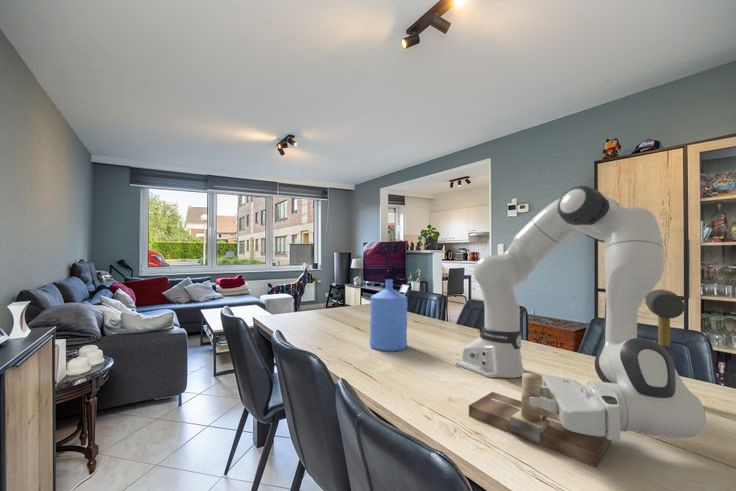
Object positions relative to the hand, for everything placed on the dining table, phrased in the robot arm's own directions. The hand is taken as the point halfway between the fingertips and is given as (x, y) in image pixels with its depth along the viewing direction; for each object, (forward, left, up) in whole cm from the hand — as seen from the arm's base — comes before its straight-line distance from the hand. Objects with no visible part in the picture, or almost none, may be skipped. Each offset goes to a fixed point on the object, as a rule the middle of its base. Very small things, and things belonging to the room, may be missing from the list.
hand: (527, 395), depth 72 cm
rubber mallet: (+18, +49, -9) cm, 53 cm away
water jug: (-67, +27, -9) cm, 73 cm away
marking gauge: (+1, 0, -7) cm, 7 cm away
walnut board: (0, +4, -8) cm, 10 cm away
